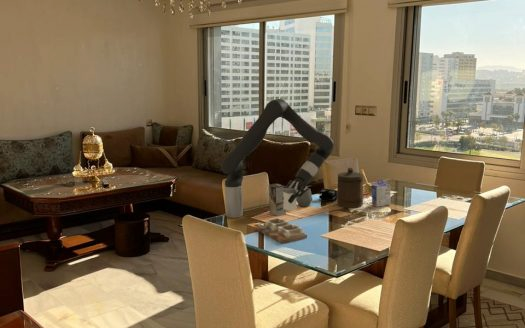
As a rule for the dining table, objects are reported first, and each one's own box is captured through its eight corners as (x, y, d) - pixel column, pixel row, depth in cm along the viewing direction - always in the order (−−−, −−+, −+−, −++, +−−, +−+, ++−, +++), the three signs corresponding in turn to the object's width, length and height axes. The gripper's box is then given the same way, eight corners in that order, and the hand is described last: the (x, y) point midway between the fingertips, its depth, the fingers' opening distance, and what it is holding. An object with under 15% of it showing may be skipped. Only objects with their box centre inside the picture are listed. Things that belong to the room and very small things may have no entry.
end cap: (338, 200, 294) (338, 189, 293) (333, 202, 289) (333, 191, 287) (324, 197, 300) (324, 187, 299) (318, 200, 295) (318, 189, 293)
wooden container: (367, 203, 284) (368, 167, 280) (354, 209, 273) (354, 171, 269) (345, 199, 294) (346, 164, 290) (332, 205, 283) (332, 168, 279)
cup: (312, 203, 288) (312, 187, 286) (312, 207, 279) (312, 191, 277) (296, 203, 289) (296, 187, 287) (295, 207, 280) (295, 191, 278)
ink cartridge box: (385, 202, 286) (385, 178, 283) (390, 205, 281) (391, 180, 278) (371, 204, 282) (371, 180, 279) (376, 207, 277) (377, 182, 274)
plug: (283, 209, 231) (283, 188, 229) (291, 207, 233) (290, 187, 231) (288, 211, 227) (288, 190, 225) (296, 209, 229) (296, 189, 227)
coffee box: (286, 214, 268) (286, 186, 265) (276, 216, 265) (275, 187, 262) (278, 210, 276) (278, 183, 273) (268, 212, 273) (268, 184, 270)
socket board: (256, 229, 243) (256, 221, 242) (279, 224, 250) (279, 216, 249) (282, 243, 223) (281, 234, 222) (306, 237, 230) (306, 228, 229)
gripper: (293, 165, 236) (273, 193, 232) (311, 170, 224) (290, 199, 220) (302, 174, 240) (283, 202, 236) (320, 180, 227) (299, 209, 224)
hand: (286, 200), depth 228 cm, fingers closed on plug, 4 cm apart
